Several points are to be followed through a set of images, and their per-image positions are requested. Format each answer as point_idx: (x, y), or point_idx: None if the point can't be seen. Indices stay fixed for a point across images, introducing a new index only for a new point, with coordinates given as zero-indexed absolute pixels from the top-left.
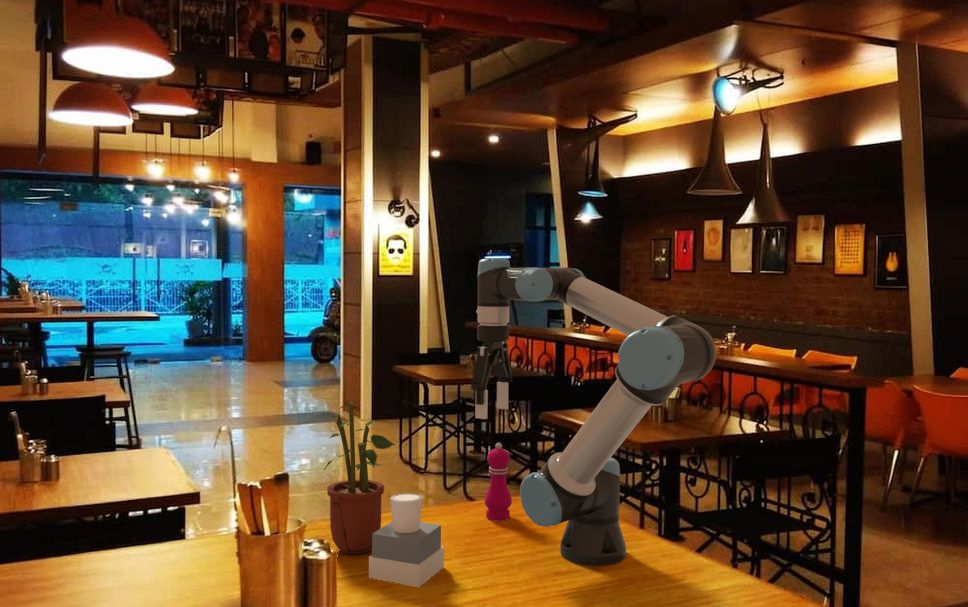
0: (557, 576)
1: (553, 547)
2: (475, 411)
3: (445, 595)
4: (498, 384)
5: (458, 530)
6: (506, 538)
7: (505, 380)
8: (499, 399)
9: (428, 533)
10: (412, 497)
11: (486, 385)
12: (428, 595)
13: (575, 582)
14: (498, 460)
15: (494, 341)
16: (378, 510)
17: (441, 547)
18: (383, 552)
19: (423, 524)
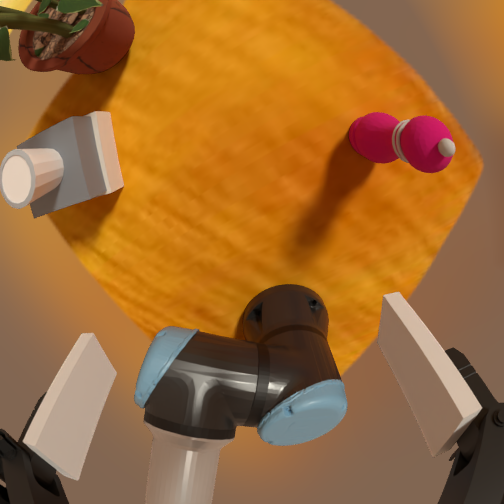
0: (192, 315)
1: (282, 272)
2: (68, 355)
3: (71, 240)
4: (452, 411)
5: (272, 107)
6: (281, 196)
7: (462, 449)
8: (403, 343)
9: (56, 209)
10: (20, 187)
11: (62, 498)
12: (61, 225)
13: None
14: (408, 154)
15: None
16: (81, 65)
17: (107, 191)
18: None
19: (76, 173)
